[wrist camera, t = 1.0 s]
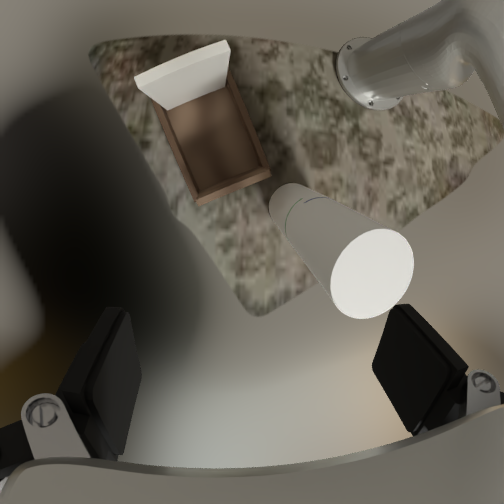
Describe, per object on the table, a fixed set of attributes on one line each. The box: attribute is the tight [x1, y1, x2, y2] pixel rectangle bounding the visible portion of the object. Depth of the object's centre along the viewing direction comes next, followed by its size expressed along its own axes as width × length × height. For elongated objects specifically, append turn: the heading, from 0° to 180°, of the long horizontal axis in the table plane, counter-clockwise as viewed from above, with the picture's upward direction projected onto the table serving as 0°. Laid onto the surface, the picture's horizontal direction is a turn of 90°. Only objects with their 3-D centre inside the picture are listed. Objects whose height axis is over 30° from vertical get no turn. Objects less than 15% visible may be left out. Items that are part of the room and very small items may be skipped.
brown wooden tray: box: [151, 67, 271, 206], centre depth 34 cm, size 11×17×9 cm, turn 22°
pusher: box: [134, 40, 231, 110], centre depth 28 cm, size 8×1×16 cm, turn 112°
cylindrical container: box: [269, 183, 414, 319], centre depth 32 cm, size 7×7×25 cm
